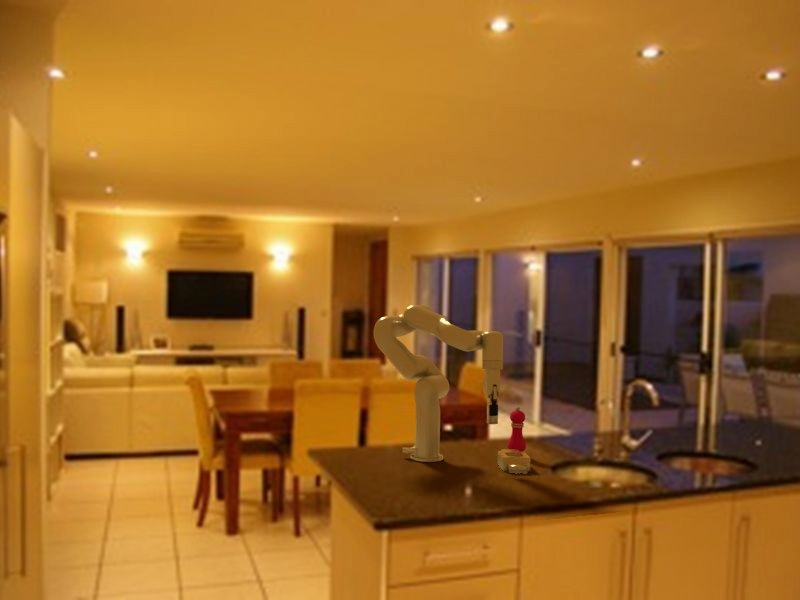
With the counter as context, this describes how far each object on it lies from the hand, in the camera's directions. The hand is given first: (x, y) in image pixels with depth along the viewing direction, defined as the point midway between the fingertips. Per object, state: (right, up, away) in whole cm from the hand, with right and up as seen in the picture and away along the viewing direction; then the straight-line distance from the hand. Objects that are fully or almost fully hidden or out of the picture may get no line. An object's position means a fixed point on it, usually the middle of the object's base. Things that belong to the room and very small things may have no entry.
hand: (492, 414), depth 253 cm
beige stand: (+8, -20, +1) cm, 21 cm away
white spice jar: (0, -3, 0) cm, 3 cm away
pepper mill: (+12, -20, +19) cm, 30 cm away
